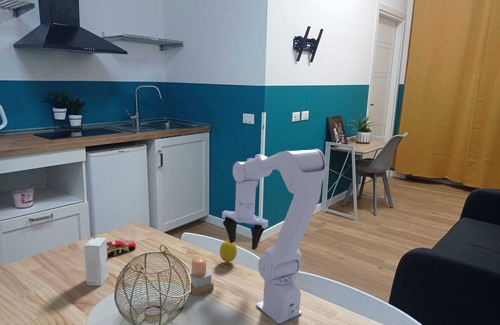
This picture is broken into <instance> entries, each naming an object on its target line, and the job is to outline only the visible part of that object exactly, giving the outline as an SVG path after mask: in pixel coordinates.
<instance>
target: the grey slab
mask: <svg viewBox="0 0 500 325" xmlns="http://www.w3.org/2000/svg"><path fill="white" fill-rule="evenodd" d="M188 272H190V276H191V281H192V282H191V284H192V285H193V286H194V287H195V288H198V287H201V286H204V285H207V284H210V283H211V282H212V274H211V273H210V272H209V271H207V270H206V275H205V276H203V277H194V276H192V270H190V271H188Z"/></svg>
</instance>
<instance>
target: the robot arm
mask: <svg viewBox="0 0 500 325" xmlns="http://www.w3.org/2000/svg"><path fill="white" fill-rule="evenodd" d="M273 170H277V171H278V172H279V173H280V175H281V177H282V180H283V182H284V184H285V186H286V189H287V190H288V192H289V193H291V194H292V195H293V198H292V200H291V203H290V205H289V208H288V211H287V213H286V216H285V217H284V220H283V223H282V225H281V228H280V231H279V233H278V236H277V239H276V241H275V243H274V244H273V245H272V246H270V247H269V248H267V249H266V250H265V251H264V253H263V255H262V256H260V257H259V259H258V263H257V268H258V272H259V275H260V276H261V278H262V279H263V280H264V283H263V300H261V301H259V302H256V305H255V306H256V307H258V308H259V309H260V310H261V311H262V312H263V313H265V314H266V315H267V316H268V317H270V318H271V319H272V320H273V321H274V322H276V323H277V324H282V323H284V322H286V321H288V320H290V319H292V318H296V317H297V316H299V315H301V314H302V311H301V310H300V306H301V304H300V303H301V294H302V292H301V289H299V287H298V286H297V285H296V284H295V282H294V279H295V278H296V274H297V273H299V272H300V270H301V262H302V261H301V260H302V258H303V254H302V252H301V250H300V249H299V246H300V244H301V243H302V239H303V237H304V236H305V234H306V231H307V229H308V226H309V224H310V222H311V219H312V217H313V215H314V213H315V210H316V208H317V206H318V204H319V201H320V198H321V194H322V184H323V181H324V178H325V176H326V174H327V172H328V170H329V167H328V163H327V160H326V157H325V154H324V153H323V151H322V150H320V149H318V148H314V149H306V150H303V149H302V150H284V151H279V152H277V153H275V154H273V155H271V156H266V155H263V154H259V153H258V154H255V156H254V158H253V157H250V158H247V159H246V160H245V161H235V163H234V164H233V165H232V177H233V179H234V181H235V207H234V209H235V210H234V211H233V210H232V211H231V210H223V211H222V212H221V213H222V214H221V218H222V219H224V220H223V221H222V225H223V226H224V228H225V230H226V233H227V236H228V240H229V241H230V243H233V242H234V243H235V242H236V238H237V237H236V236H237V227H238V223H240V224H241V223H244V224H248V225H252V226H253V227H251V228H250V232H251V249H252V250H253V251H254V250H256V249H257V248H258V246H259V242H260V239H261V237H262V235H263V233H264V231H265V229H266V228H268V227H269V220H268V219H265V218H262V217H261V216H257V215H255V209H256V208H255V207H256V190H257V187H258V185H259V180H260V179H262V178H266V177H268V176H270V175H271V174H272V172H273Z"/></svg>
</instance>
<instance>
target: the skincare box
mask: <svg viewBox="0 0 500 325" xmlns="http://www.w3.org/2000/svg"><path fill="white" fill-rule="evenodd" d="M106 243H107V237H92V238H90V239H89V240H88V241H87V242H86V244H84V246H83V249H84V250H83V251H84V261H85V262H84V264H85V265H84V266H85V277H86V285H87V286H92V287H93V286H98V287H99V286H102V285H104V283H105V281H106V280H107V279H108V277H109V264H108V263H109V262H108V261H109V260H108V259H109V258H107V244H106Z"/></svg>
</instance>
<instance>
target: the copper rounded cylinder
mask: <svg viewBox="0 0 500 325" xmlns="http://www.w3.org/2000/svg"><path fill="white" fill-rule="evenodd" d="M191 271H192V276H194V277H203V276H205V275H206V271H207V259H206V258H204V257H201V256H200V257H195V258H192V260H191Z"/></svg>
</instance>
